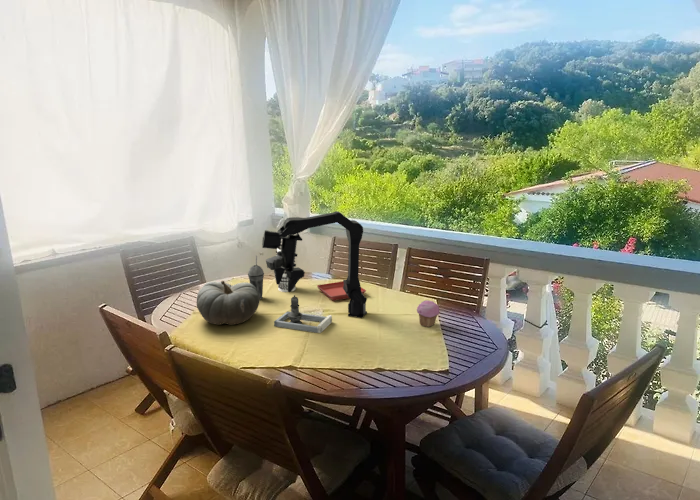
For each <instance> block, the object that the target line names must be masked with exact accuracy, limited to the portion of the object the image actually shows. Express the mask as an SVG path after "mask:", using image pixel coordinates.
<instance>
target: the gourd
mask: <svg viewBox="0 0 700 500" xmlns="http://www.w3.org/2000/svg"><path fill="white" fill-rule="evenodd" d="M260 300H261V299H260V297H259V294H258V291H257V289H256V287H255V286H254V285H252V284H250V282H238V283H236V284H232V285H231V284H230V283H226V282H225V280H221V281H209V282H205V284H203V286H202V287H201V288H200V289H199V291H198V292H197V295H196V307H197V310H198V312H199V314H200V315H201V317H202V318H203V319H204V320H205V321H206V322H208V323H209V324H214V325H218V326H220V325H223V324H227V325H229V326H230V325H231V326H234V325H238V324H242V323H244V322H246V321H249V319H250V318H251V317H253V315H255V313H256V312H257V310H258V308H259V305H260Z"/></svg>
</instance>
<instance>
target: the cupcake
mask: <svg viewBox="0 0 700 500" xmlns="http://www.w3.org/2000/svg"><path fill="white" fill-rule="evenodd" d="M440 310H441V309H440V306H439V305H438V304H437V303H435V301H432V300H428V299H427V300H423V301H421V303H419V304H418V306H417V307H416V312H417V314H418V317H419V318H418V319H419V324H420V326H422V327H427V328H430V327H432V326H434V325H435V324H436V319H437V317H438V315H439V314H440Z"/></svg>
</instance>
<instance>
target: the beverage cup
mask: <svg viewBox="0 0 700 500" xmlns="http://www.w3.org/2000/svg"><path fill="white" fill-rule="evenodd" d="M247 272H248V273H247V276H248V281H249V283H250V284H252V285H254V286H255V287H256V289H257V291H258V294H259V297H260V300H262V299H263V293H264V276H265V273H264V269H263V268H262V267H261V266H260V265H258V256H257V255H255V264H254V265H252V266H250V268H249V269H248V271H247Z"/></svg>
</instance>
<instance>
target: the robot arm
mask: <svg viewBox="0 0 700 500" xmlns="http://www.w3.org/2000/svg"><path fill="white" fill-rule="evenodd" d="M336 223H337V224H338V225H340V226H342V227H343V228H344V229H345V232H346V233H345V234H346V239H347V241H348V257H347V258H348V264H347V267H348V268H347V277H346V279H343V280H342V281H343V283H344V286H343V289H344V291H345V293H346V294H347V295H348V297H349V298H348V299H349V301H348V305H347V309H348V310H347V311H348V314H347V316H348V317H353V318H359V319H360V318H361V319H362V318H364V317H365V315H367V313H368V311H366V310H367V309H366V308H367V304H366V303H367V301H368V298H367V297H366V295H365V294H363V293H362V292H361V287H362V286H361V282H360V279H359V271H360V270H359V267H360V244H361V241H362V238H363V234H364V227H363V225H362V224H361V223H359V222H358V221H356V220H354V219H352V220H350V219H349V218H348V217H346V216H345V215H344V214H343V213H342V212H340V211H337V210H336V211H333V212H329V213H323V214H318V215H313V216H308V217H307V216H306V217H299V216H297V217H287V218H286V219H285V220H284V221H283V225H282V226H281V227H280V228H279V229H278V230H277V231H271V230H267V229H266V230H264V232H263V236H262V241H261V242H262V243H261V247H262V249H268V250H270V249H271V250H277V248H279V247H280V245H281V239H282V246H281V251H279V252H278V255H277V256H276V255H273V256H271V257H269V258H267V259H265V262H266V267H267V269H270V270H271V271H273V274H274V277H275V283H276V285H277V286H278V284H280V282H281V279H282V276H283V273H284V271H285V270H287V271H286V274H287V276H286V277H287V278H288V292H287V293H290V292H293V291H292V289H293V288H294V286H296V284H298V283H299V281H300V280H301V279H302V278H304V277H305V273H306V271H304V269H303V268H301V267H297V263H296V262H294V260H295V261H296V258H298V253H297V246H298V245H297V243H298V241H299V242H302V241H303V238H302V237H301V235H300V233H302V232H304V231H306V230H308V229H311V228H317V227H321V226H327V225H332V224H336ZM293 267H294V268H293Z"/></svg>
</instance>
